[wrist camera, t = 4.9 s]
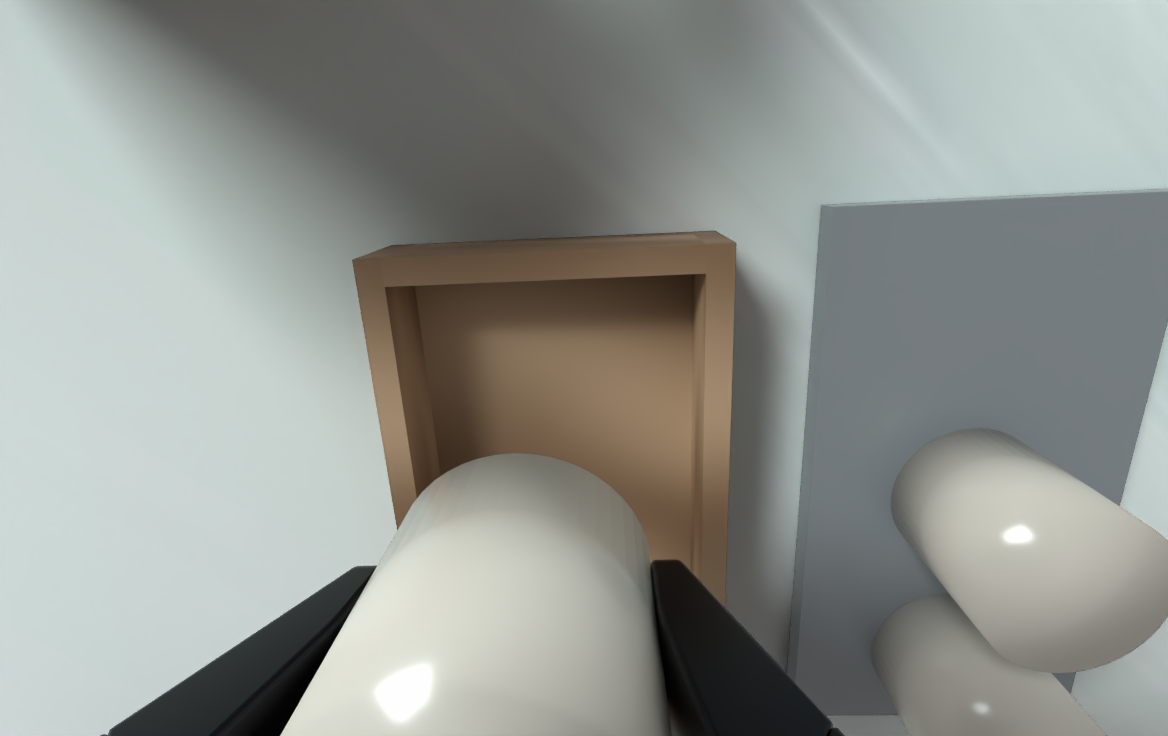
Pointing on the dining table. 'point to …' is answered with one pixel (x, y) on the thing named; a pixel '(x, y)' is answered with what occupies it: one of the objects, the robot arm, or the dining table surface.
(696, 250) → the walnut bin
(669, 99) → the dining table surface
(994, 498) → the pebble
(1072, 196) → the slate board
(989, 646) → the white rounded stone
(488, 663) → the pebble
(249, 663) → the robot arm
